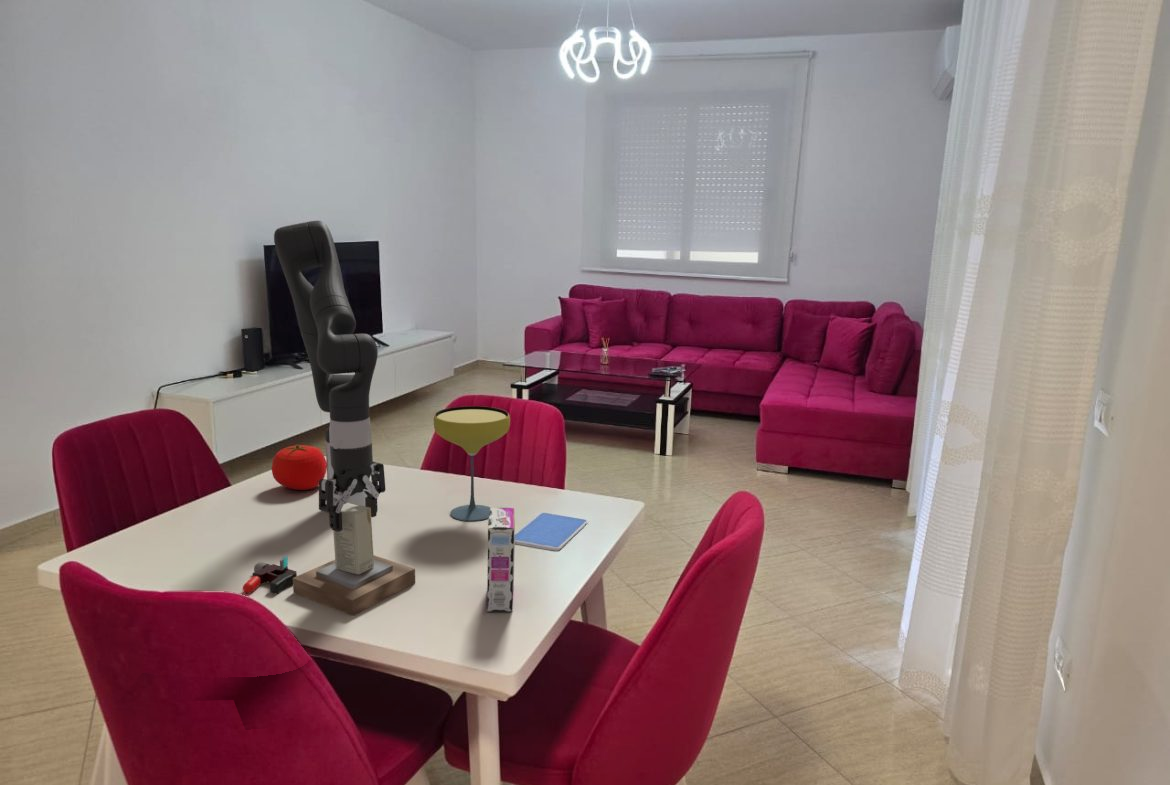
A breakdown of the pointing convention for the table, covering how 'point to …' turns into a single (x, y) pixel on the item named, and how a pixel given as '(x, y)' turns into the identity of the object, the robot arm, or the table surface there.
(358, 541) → the skincare box
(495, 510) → the candy bar box
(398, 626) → the table surface
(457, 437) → the cocktail glass
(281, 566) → the toy gun
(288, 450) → the tomato
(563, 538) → the tablet computer
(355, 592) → the walnut plinth
